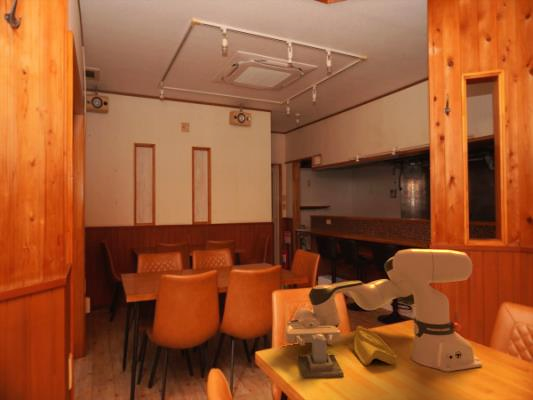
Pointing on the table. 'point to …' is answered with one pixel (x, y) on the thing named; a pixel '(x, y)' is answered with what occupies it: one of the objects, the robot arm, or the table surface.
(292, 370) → the table surface
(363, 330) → the plastic component
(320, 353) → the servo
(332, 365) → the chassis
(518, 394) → the table surface
